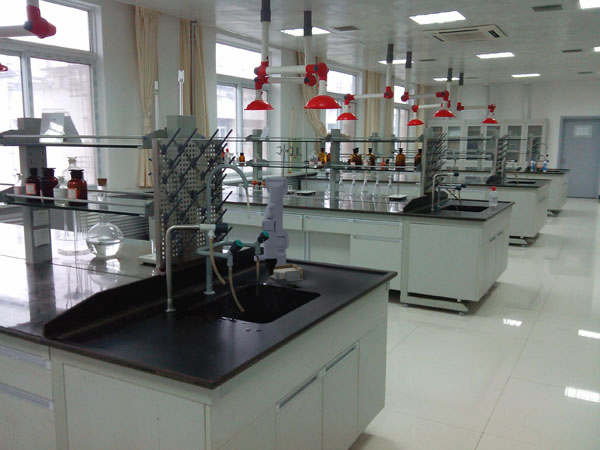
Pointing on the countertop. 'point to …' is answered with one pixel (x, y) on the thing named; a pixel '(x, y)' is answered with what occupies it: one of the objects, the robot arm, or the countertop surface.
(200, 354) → the countertop surface
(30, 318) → the countertop surface
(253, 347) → the countertop surface
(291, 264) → the brown wooden tray
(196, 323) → the countertop surface
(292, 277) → the bookend
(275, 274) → the cream rectangular block
